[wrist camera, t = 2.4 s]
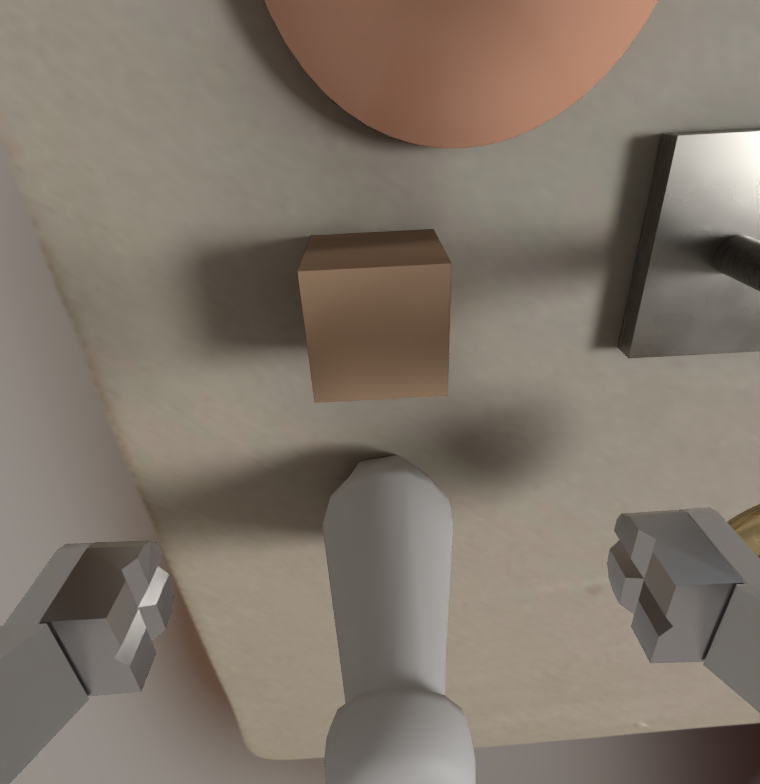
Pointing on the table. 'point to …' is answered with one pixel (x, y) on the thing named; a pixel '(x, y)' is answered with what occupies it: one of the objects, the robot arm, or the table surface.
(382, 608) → the salt shaker
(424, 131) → the dish
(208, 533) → the table surface
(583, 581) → the table surface
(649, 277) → the balance
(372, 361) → the block
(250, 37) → the table surface
